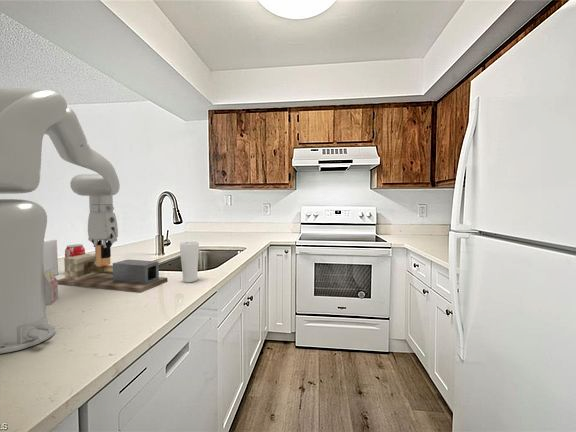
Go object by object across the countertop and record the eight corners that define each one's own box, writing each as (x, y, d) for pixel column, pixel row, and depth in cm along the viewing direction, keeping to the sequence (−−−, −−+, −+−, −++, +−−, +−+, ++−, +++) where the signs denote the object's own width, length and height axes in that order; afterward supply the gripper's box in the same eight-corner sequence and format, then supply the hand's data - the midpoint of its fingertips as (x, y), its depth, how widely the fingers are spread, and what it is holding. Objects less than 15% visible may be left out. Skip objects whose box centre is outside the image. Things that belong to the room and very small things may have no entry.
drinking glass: (177, 282, 112) (176, 243, 111) (190, 277, 118) (189, 241, 117) (189, 284, 108) (189, 244, 108) (202, 279, 114) (202, 242, 114)
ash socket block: (101, 273, 118) (100, 254, 118) (77, 280, 108) (76, 259, 108) (89, 272, 120) (88, 253, 119) (65, 279, 110) (64, 258, 110)
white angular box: (35, 306, 86) (34, 273, 85) (43, 299, 92) (42, 268, 92) (51, 304, 87) (49, 272, 87) (58, 297, 94) (56, 267, 93)
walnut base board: (167, 281, 112) (167, 277, 112) (140, 292, 99) (140, 288, 99) (90, 274, 122) (90, 271, 122) (55, 284, 109) (55, 280, 109)
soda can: (61, 274, 123) (60, 246, 122) (77, 270, 130) (76, 243, 129) (73, 275, 121) (72, 247, 120) (89, 271, 128) (88, 244, 127)
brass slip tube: (144, 275, 109) (143, 245, 108) (136, 277, 105) (135, 247, 104) (98, 271, 115) (97, 243, 114) (88, 273, 111) (87, 244, 110)
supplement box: (59, 274, 123) (57, 239, 122) (34, 280, 114) (32, 242, 113) (46, 272, 126) (44, 238, 125) (20, 277, 118) (18, 241, 117)
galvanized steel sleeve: (158, 279, 109) (158, 261, 109) (145, 285, 102) (144, 265, 102) (128, 277, 113) (127, 259, 112) (113, 282, 106) (112, 263, 106)
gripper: (126, 209, 111) (128, 256, 112) (93, 208, 116) (95, 254, 117) (110, 209, 104) (111, 260, 105) (75, 209, 108) (77, 258, 110)
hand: (103, 257), depth 111 cm, fingers closed on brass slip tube, 2 cm apart
